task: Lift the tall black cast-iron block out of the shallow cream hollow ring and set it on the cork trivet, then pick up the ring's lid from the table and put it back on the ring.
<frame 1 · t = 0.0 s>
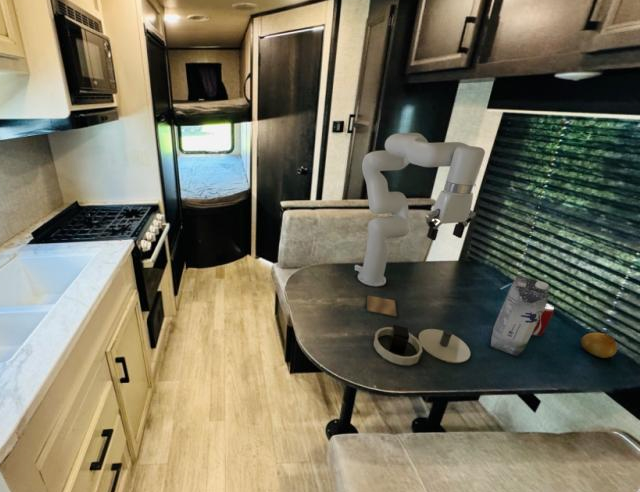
hand: (444, 237, 104), 37 cm above the table, tool pointing down, fingers open, 9 cm apart
trivet: (380, 306, 130), on the table
soda can: (532, 332, 116), on the table
fruit: (594, 352, 107), on the table
cream hollow ring: (395, 349, 109), on the table
lid: (443, 345, 109), point 1 cm above the table
block: (396, 348, 108), resting on cream hollow ring
juice carton: (504, 345, 110), on the table
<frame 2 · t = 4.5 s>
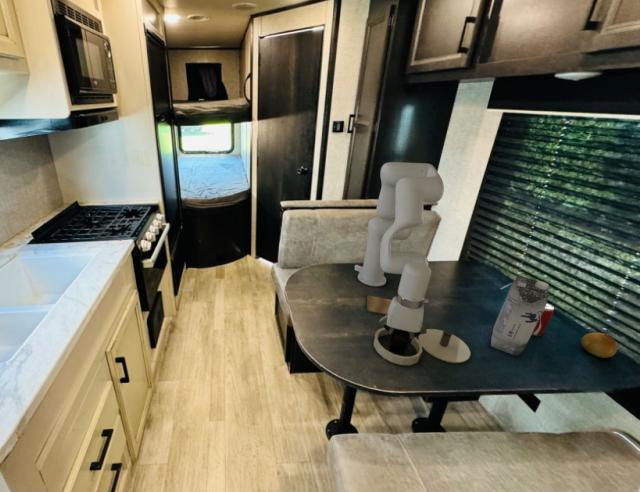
hand: (397, 342, 107), 3 cm above the table, tool pointing down, fingers closed on block, 4 cm apart
block: (396, 348, 108), point 1 cm above the table, touching gripper, cream hollow ring
everything else where it was.
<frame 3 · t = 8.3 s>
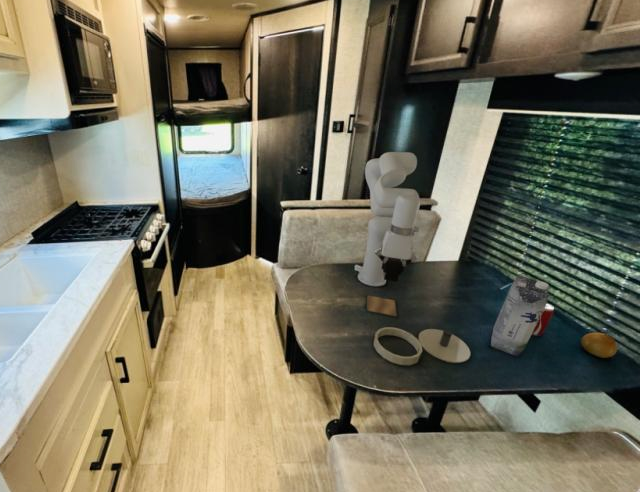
hand: (391, 271, 120), 19 cm above the table, tool pointing down, fingers closed on block, 4 cm apart
block: (390, 277, 121), point 16 cm above the table, touching gripper
everything else where it was.
when the fingers open (3 cm above the table, at t = 12.4 s): block stays where it is, resting on trivet.
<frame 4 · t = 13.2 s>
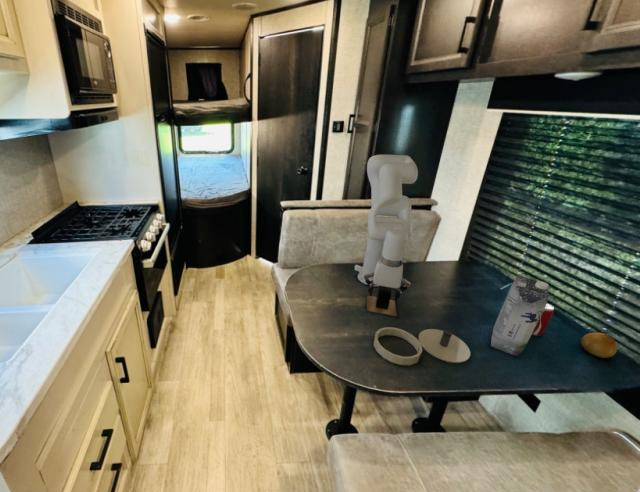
hand: (382, 296, 129), 5 cm above the table, tool pointing down, fingers open, 9 cm apart
block: (381, 305, 130), point 1 cm above the table, touching trivet
everything else where it was.
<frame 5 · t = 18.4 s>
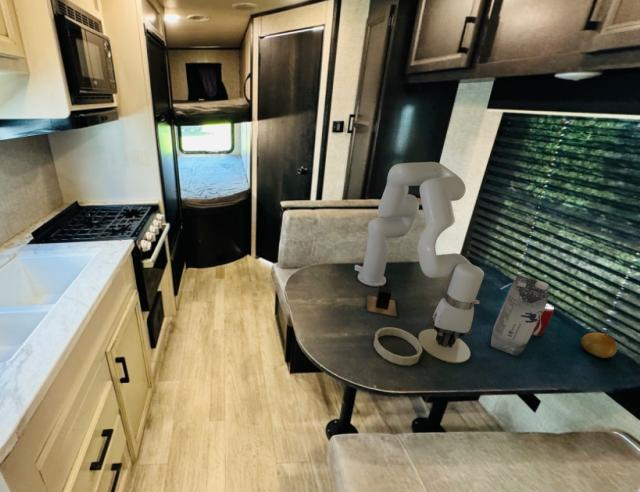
hand: (444, 343, 109), 2 cm above the table, tool pointing down, fingers closed on lid, 2 cm apart
lid: (443, 345, 109), point 1 cm above the table, touching gripper
everything else where it was.
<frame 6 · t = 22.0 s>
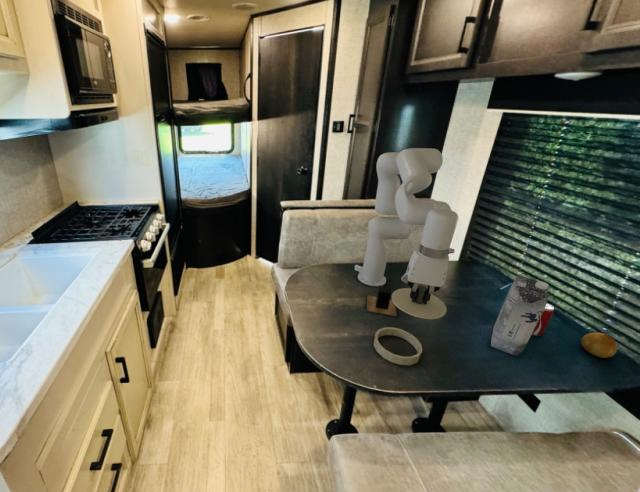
hand: (418, 300, 100), 21 cm above the table, tool pointing down, fingers closed on lid, 2 cm apart
lid: (417, 303, 100), point 20 cm above the table, touching gripper
everything else where it was.
when the fingers open (5 cm above the table, at t = 26.0 s): lid stays where it is, resting on cream hollow ring.
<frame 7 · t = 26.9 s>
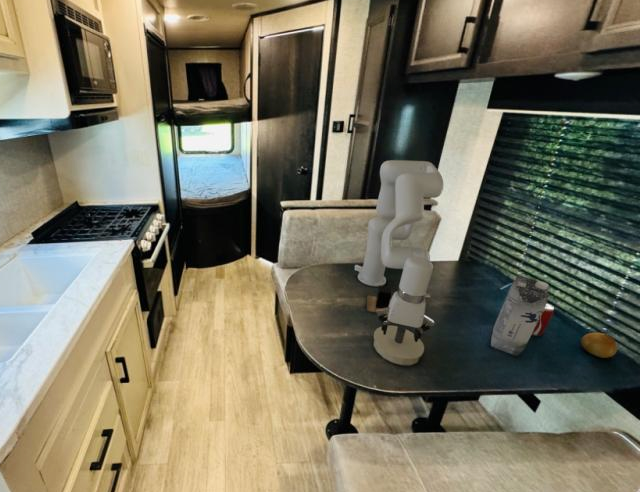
hand: (399, 335, 106), 6 cm above the table, tool pointing down, fingers open, 9 cm apart
lid: (398, 342, 107), point 3 cm above the table, touching cream hollow ring
everything else where it was.
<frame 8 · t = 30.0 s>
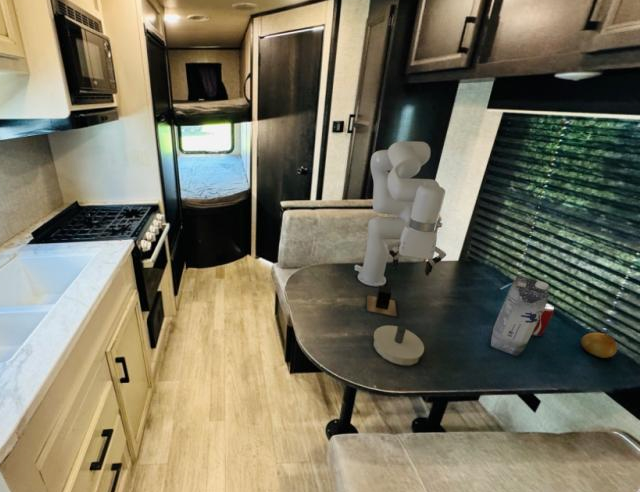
hand: (410, 270, 106), 26 cm above the table, tool pointing down, fingers open, 9 cm apart
nothing on the table moved.
at the end: block inside the target area on the trivet (0.2 cm from its centre), point 0.6 cm above the trivet's base; lid 0.1 cm off-centre on the cream hollow ring, point 3.5 cm above the cream hollow ring's base; lid tilted 0° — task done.
